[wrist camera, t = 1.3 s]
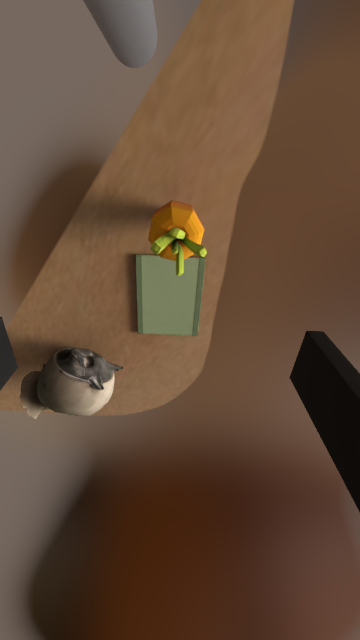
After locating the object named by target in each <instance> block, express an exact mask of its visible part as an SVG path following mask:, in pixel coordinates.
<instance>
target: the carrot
mask: <svg viewBox="0 0 360 640" xmlns="http://www.w3.org/2000/svg"><path fill="white" fill-rule="evenodd" d="M203 233H204V228H203V226H202V224H201V222H200V221H199V219H198V217H197V215H196V213H195V212H194V210H193V208H192V206H191V205H189V204H185V203H181V202H177V201H173V200H172V201H170V202H169V203H167V204H166V205H165V206H163V207H162V208H160V209H159V210H157V211H156V212H155V213H154V215H153V216H152V221H151V227H150V232H149V238H148V240H149V241H150V243H151V244H152V246H151V248H150V249H151V250H152V252H153V253H155V254H156V255H157V254H158V255H159V256H160V258H164V259H168V260H173V261H176V276H180V275H182V274H183V273H184V260H185V259H187V258H188V257H190V256H192V255H193V254H196V255H197V256H199V257H204V256H205V255H206V254H207V251H206V249H205V248H204V247H203V246H201V245H200V244H201V240H202V236H203Z"/></svg>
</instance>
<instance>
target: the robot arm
mask: <svg viewBox="0 0 360 640" xmlns="http://www.w3.org/2000/svg"><path fill="white" fill-rule="evenodd" d="M17 368H18V365H17V362H16V359H15V356H14V353H13V350H12V347H11V344H10V341H9V338H8V335H7V332H6V329H5V326H4V323H3V320H2V317H0V390H1V389H2V387H3V386H4V385H5V384H6V382H7V381H8V380H9V378H10V377H11V376H12V374H13V373H14V372H15V371H16V369H17ZM290 379H291V381H292V383H293V385H294V387H295V389H296V390H297V392H298V395H299V396H300V398H301V400H302V402H303V404H304V406H305V408H306V410H307V412H308V414H309V416H310V418H311V420H312V421H313V423H314V425H315V427H316V429H317V431H318V433H319V435H320V437H321V439H322V440H323V443H324V444H325V446H326V448H327V450H328V452H329V454H330V456H331V458H332V460H333V462H334V464H335V465H336V468H337V469H338V471H339V473H340V475H341V477H342V479H343V481H344V483H345V485H346V487H347V489H348V490H349V492H350V494H351V496H352V498H353V500H354V502H355V504H356V506H357V508H358V510H359V512H360V373H359V372H358V371H357V370H356V369H355V368H354V367H353V365H352V364H351V363H350V362H349V361H348V360H347V358H346V357H345V356H344V355H343V354H342V353H341V351H340V350H339V349H338V348H337V347H336V346H335V344H334V343H333V342H332V341H331V340H330V339H329V338H328V336H327V335H326V334H325V333H324V332H320V331H306V334H305V337H304V339H303V342H302V345H301V348H300V351H299V353H298V356H297V359H296V362H295V364H294V367H293V370H292V373H291V375H290Z"/></svg>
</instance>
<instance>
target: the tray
mask: <svg viewBox="0 0 360 640" xmlns="http://www.w3.org/2000/svg"><path fill="white" fill-rule="evenodd" d="M135 257H136V288H137V319H138V334H166V335H191V336H198V327H199V317H200V308H201V298H202V289H203V279H204V270H205V260H206V258H203V257H188V258H187V259H185V260H184V273H183V274H182V275H180V276H176V261H173V260H168V259H164V258H160V256H159V255H142V254H136V255H135Z"/></svg>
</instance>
